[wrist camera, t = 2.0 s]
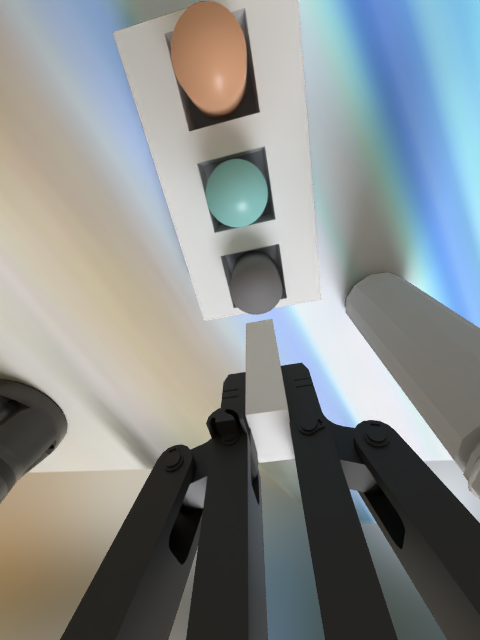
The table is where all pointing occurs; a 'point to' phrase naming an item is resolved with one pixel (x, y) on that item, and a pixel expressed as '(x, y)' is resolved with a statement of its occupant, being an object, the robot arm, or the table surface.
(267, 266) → the button charcoal
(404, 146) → the table surface
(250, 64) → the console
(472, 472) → the water bottle
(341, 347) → the table surface
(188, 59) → the button terracotta
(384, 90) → the table surface
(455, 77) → the table surface
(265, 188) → the button teal
